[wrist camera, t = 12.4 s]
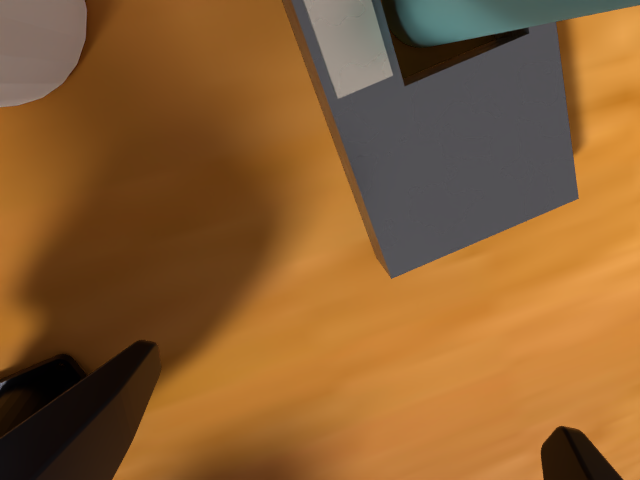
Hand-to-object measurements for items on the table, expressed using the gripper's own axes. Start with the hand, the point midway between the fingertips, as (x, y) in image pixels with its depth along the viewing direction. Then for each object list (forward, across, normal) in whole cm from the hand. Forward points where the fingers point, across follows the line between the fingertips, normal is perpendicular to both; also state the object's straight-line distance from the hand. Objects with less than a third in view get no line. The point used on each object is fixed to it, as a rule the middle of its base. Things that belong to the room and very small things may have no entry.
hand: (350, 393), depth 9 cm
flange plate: (+15, -2, -4) cm, 16 cm away
